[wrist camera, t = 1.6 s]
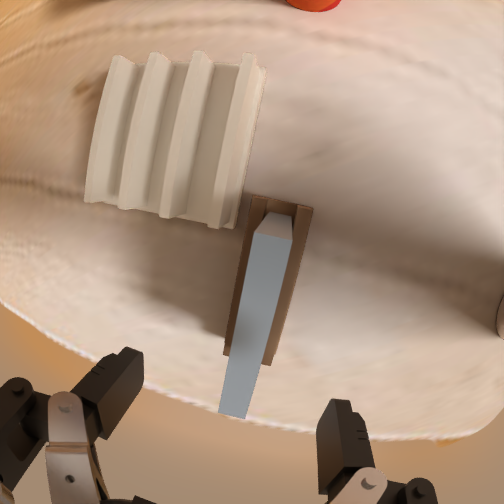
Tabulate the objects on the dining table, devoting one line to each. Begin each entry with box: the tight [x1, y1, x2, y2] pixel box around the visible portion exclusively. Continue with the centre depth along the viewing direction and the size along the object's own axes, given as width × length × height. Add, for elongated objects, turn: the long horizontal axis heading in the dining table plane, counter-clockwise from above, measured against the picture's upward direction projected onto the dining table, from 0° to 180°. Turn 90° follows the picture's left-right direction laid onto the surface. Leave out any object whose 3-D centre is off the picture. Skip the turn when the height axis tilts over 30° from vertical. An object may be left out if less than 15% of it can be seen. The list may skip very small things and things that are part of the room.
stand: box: [223, 195, 313, 366], centre depth 24 cm, size 5×14×3 cm, turn 168°
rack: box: [84, 51, 267, 229], centre depth 21 cm, size 13×14×5 cm
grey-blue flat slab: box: [218, 211, 293, 419], centre depth 19 cm, size 2×12×10 cm, turn 168°
